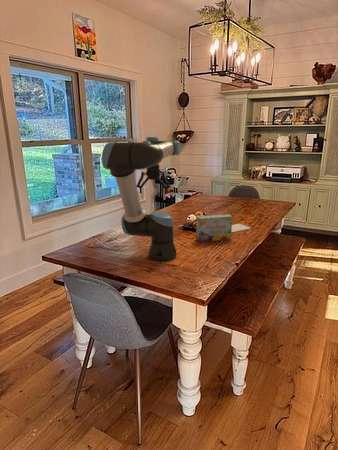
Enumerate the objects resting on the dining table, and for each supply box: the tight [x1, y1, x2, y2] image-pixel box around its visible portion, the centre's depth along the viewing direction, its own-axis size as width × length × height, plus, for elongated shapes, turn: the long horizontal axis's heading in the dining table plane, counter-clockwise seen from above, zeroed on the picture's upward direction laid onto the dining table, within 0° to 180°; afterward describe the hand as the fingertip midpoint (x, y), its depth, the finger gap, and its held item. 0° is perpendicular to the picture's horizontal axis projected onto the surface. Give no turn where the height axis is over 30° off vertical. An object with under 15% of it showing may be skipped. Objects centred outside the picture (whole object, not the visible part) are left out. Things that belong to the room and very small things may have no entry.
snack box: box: [195, 213, 233, 243], centre depth 193 cm, size 21×6×15 cm, turn 105°
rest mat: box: [231, 222, 253, 234], centre depth 214 cm, size 12×26×1 cm, turn 120°
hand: (153, 199), depth 193 cm, fingers open, 13 cm apart
